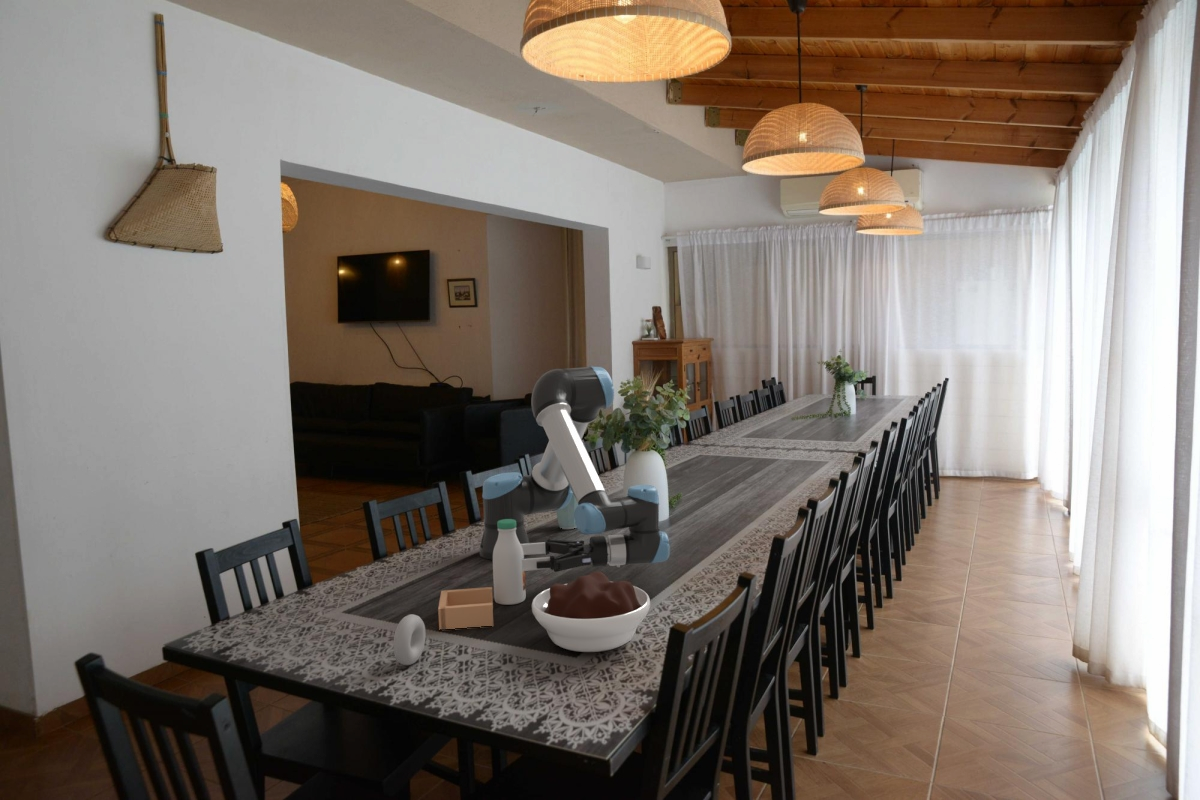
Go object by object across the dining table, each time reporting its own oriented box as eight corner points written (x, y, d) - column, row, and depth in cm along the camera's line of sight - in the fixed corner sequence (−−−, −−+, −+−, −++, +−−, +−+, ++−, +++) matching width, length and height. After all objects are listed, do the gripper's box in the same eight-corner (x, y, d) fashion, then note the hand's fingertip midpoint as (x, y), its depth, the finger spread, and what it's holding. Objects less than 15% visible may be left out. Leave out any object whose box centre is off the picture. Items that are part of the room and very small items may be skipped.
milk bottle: (520, 606, 202) (517, 524, 200) (490, 605, 203) (486, 524, 202) (529, 595, 209) (526, 517, 207) (500, 594, 211) (496, 516, 209)
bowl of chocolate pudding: (543, 621, 191) (541, 556, 190) (653, 621, 189) (651, 556, 187) (522, 666, 167) (519, 592, 165) (648, 667, 164) (646, 592, 163)
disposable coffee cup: (573, 532, 270) (572, 486, 269) (546, 529, 276) (544, 484, 274) (590, 525, 279) (588, 480, 278) (563, 522, 285) (561, 478, 283)
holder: (493, 607, 202) (492, 586, 201) (493, 626, 189) (492, 604, 189) (442, 611, 200) (441, 590, 200) (439, 630, 187) (438, 609, 187)
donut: (407, 674, 165) (404, 625, 164) (391, 673, 165) (388, 624, 165) (429, 654, 174) (427, 607, 173) (414, 653, 175) (412, 606, 174)
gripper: (614, 580, 196) (524, 587, 193) (600, 552, 221) (519, 557, 218) (613, 549, 195) (522, 556, 192) (599, 524, 220) (517, 529, 217)
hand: (520, 557), depth 205 cm, fingers open, 13 cm apart
